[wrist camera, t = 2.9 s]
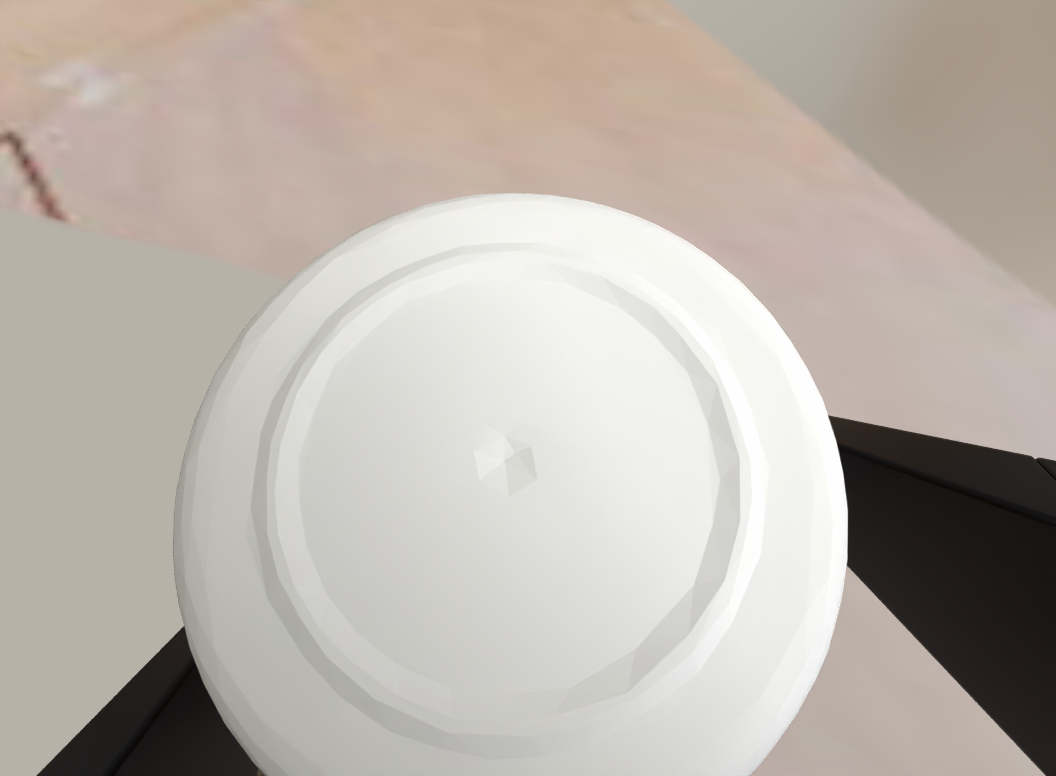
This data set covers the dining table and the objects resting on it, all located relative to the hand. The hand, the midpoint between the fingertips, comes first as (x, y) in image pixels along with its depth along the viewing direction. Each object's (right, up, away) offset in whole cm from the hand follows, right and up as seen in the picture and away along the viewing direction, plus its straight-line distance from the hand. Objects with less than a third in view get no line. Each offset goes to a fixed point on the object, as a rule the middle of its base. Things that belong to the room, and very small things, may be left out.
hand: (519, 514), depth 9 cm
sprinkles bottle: (0, -3, +7) cm, 8 cm away
